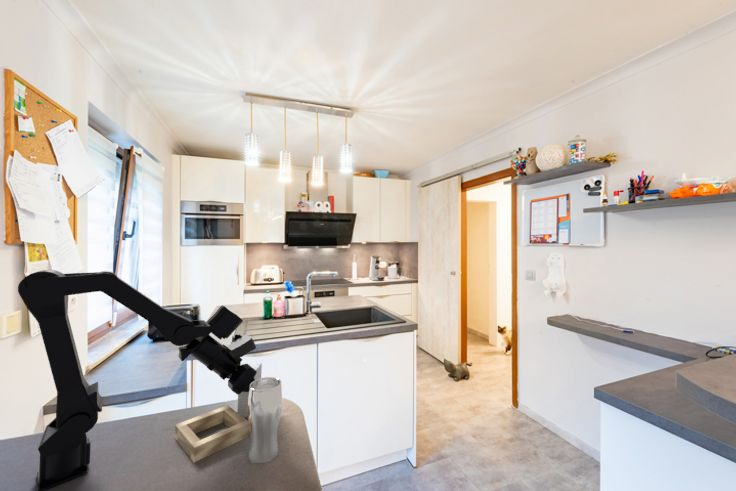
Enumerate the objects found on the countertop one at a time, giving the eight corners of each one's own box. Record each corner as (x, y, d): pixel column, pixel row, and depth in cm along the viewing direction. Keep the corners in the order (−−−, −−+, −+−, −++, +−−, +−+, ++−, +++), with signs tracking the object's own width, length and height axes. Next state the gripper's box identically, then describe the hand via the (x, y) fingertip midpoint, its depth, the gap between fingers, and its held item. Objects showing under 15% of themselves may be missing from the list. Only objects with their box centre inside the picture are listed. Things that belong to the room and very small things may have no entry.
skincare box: (244, 406, 83) (246, 362, 84) (261, 406, 83) (262, 362, 84) (236, 418, 77) (237, 371, 77) (253, 418, 77) (255, 371, 78)
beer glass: (270, 467, 60) (272, 392, 60) (239, 462, 61) (241, 388, 62) (286, 445, 67) (287, 378, 67) (258, 441, 68) (260, 375, 68)
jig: (194, 462, 61) (194, 447, 61) (174, 437, 69) (175, 424, 69) (249, 435, 70) (250, 423, 70) (227, 416, 78) (227, 405, 78)
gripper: (249, 335, 71) (290, 370, 78) (226, 320, 85) (262, 351, 92) (212, 377, 66) (260, 410, 73) (193, 354, 80) (235, 384, 87)
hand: (255, 385), depth 81 cm, fingers closed on skincare box, 7 cm apart
